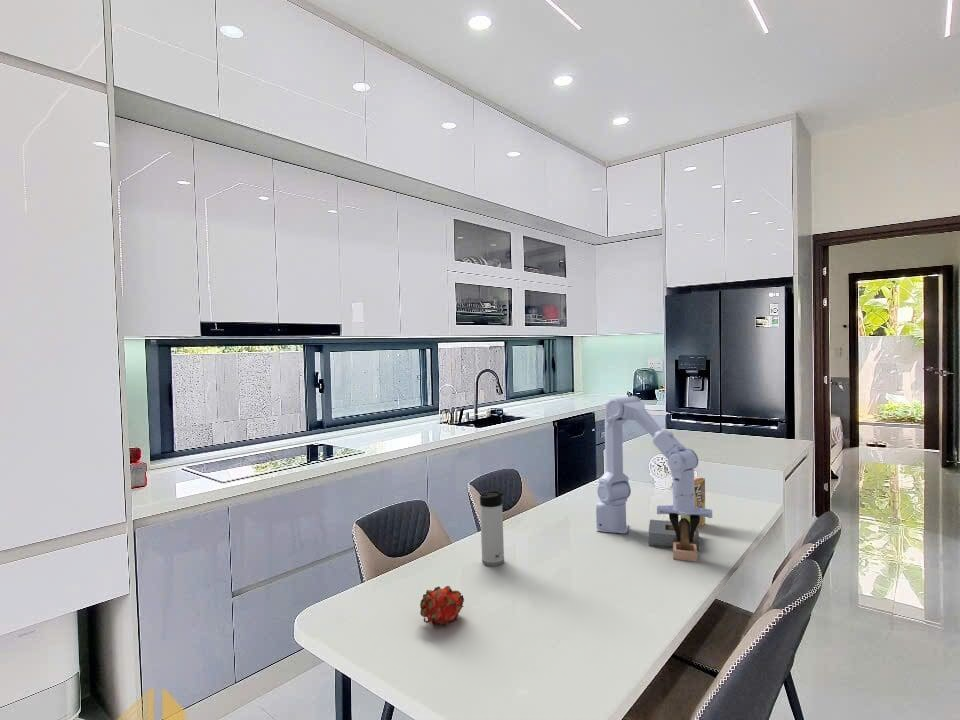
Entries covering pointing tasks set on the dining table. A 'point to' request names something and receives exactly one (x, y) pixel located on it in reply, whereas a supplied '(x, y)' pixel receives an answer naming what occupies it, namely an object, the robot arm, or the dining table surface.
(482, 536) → the travel mug
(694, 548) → the holder
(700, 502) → the candy box
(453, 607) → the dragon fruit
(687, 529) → the brown wooden cylinder
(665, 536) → the panel
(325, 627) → the dining table surface
